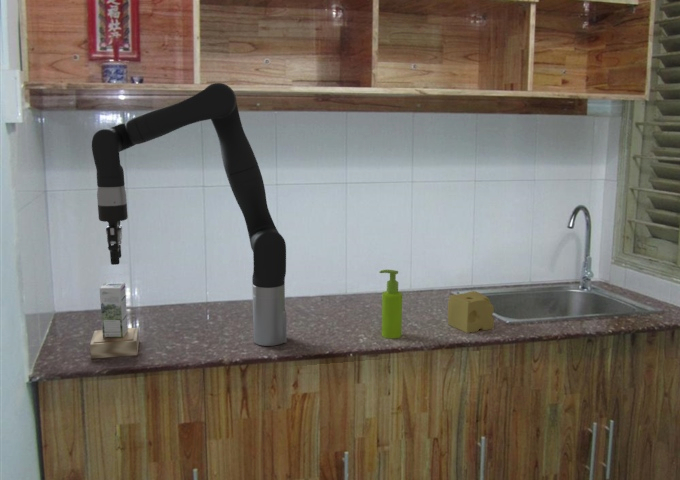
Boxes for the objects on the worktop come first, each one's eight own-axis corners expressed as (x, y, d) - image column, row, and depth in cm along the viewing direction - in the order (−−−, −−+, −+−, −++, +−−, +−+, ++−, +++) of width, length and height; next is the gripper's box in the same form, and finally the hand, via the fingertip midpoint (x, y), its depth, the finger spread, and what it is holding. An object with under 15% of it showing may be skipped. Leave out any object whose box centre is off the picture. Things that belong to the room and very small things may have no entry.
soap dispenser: (382, 330, 206) (383, 267, 203) (403, 333, 204) (405, 269, 200) (375, 336, 201) (376, 271, 197) (397, 339, 198) (399, 273, 195)
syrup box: (128, 331, 191) (125, 281, 188) (123, 338, 185) (120, 287, 183) (108, 331, 191) (104, 282, 188) (102, 338, 185) (98, 287, 182)
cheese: (494, 329, 209) (495, 298, 207) (466, 334, 204) (467, 302, 202) (473, 320, 218) (474, 290, 216) (445, 324, 213) (446, 294, 211)
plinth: (138, 340, 196) (138, 326, 195) (137, 355, 185) (136, 340, 184) (95, 343, 193) (94, 329, 193) (91, 358, 182) (89, 343, 181)
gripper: (125, 205, 177) (129, 265, 180) (127, 199, 190) (131, 255, 193) (95, 206, 175) (99, 267, 178) (99, 200, 188) (104, 256, 192)
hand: (116, 260), depth 186 cm, fingers open, 8 cm apart
